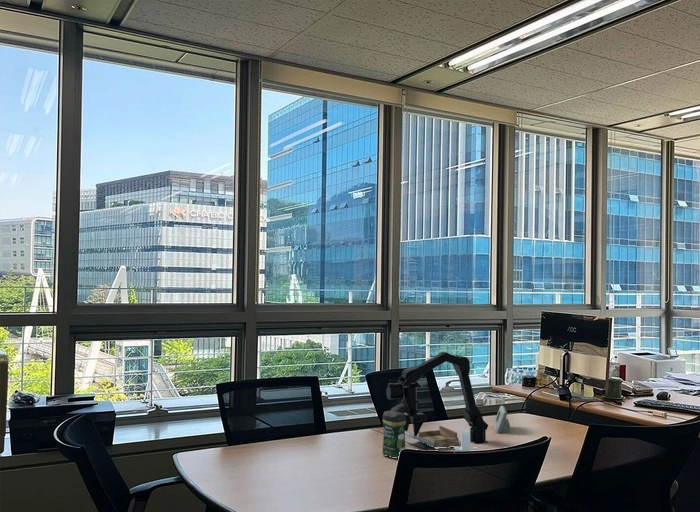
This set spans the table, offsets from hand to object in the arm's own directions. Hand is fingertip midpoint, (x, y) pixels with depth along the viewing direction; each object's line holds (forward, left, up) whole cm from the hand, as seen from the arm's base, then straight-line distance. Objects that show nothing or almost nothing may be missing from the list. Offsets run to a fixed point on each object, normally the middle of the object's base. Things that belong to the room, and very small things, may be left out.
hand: (410, 433), depth 271 cm
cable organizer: (-18, +17, -6) cm, 25 cm away
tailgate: (-8, 0, -4) cm, 8 cm away
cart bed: (-14, 0, -6) cm, 15 cm away
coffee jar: (+13, +11, -6) cm, 18 cm away
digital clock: (-55, -12, -6) cm, 57 cm away
